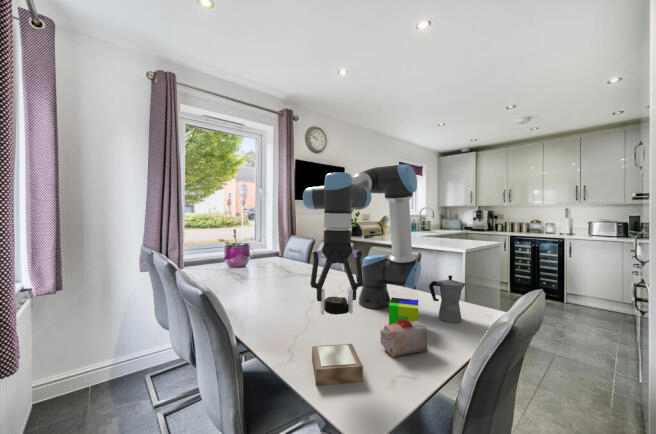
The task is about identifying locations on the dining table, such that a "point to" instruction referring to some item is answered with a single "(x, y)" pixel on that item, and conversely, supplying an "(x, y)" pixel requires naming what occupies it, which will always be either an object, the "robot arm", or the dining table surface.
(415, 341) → the food item
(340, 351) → the base block
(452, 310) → the coffeepot
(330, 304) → the tape measure
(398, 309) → the puzzle toy
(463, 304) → the dining table surface
